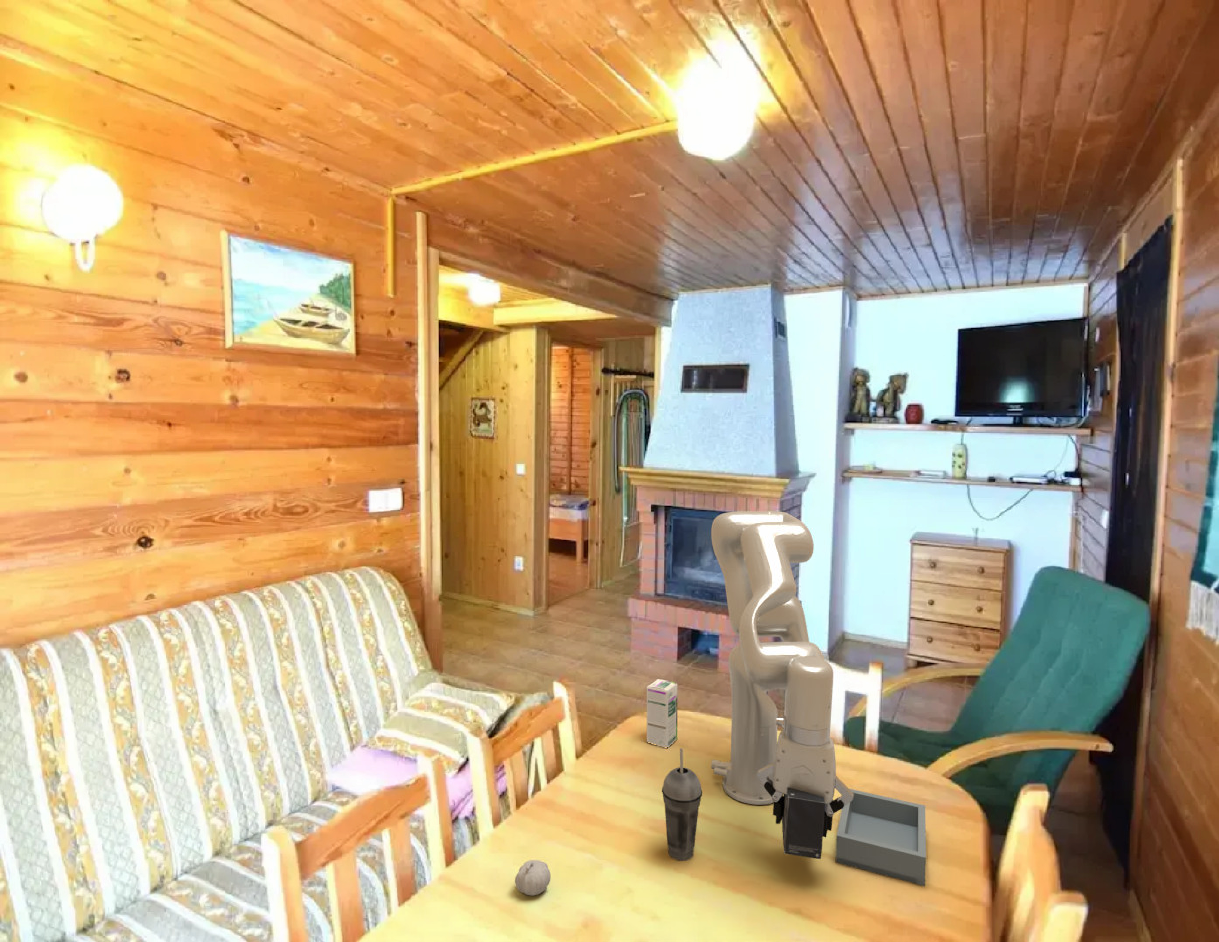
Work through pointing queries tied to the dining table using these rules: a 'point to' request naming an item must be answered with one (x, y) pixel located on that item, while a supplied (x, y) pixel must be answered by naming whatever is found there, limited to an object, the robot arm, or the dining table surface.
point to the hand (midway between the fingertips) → (801, 825)
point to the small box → (803, 823)
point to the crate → (883, 837)
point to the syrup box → (662, 712)
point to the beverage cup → (681, 810)
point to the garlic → (533, 877)
